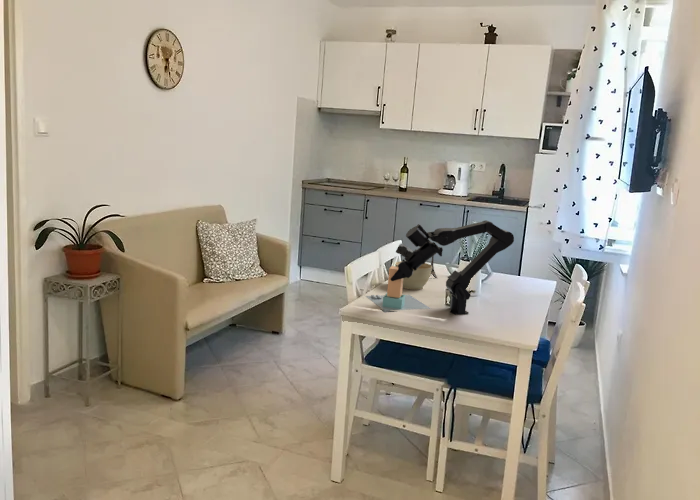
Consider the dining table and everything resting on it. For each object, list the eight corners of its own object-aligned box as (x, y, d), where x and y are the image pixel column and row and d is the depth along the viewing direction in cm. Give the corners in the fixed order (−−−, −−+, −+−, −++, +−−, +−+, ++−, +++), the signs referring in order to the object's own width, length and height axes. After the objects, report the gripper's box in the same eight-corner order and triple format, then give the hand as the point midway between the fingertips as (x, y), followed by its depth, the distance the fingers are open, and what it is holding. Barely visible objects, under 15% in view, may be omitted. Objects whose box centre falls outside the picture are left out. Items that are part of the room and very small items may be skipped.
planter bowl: (427, 285, 281) (430, 262, 279) (431, 294, 265) (434, 270, 263) (392, 282, 281) (394, 259, 279) (394, 291, 265) (396, 267, 263)
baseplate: (431, 310, 240) (432, 299, 240) (384, 312, 233) (385, 300, 233) (409, 296, 259) (410, 286, 258) (364, 297, 252) (365, 287, 251)
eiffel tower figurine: (426, 273, 307) (429, 247, 305) (445, 277, 302) (448, 250, 299) (413, 278, 295) (416, 251, 292) (433, 282, 289) (436, 254, 287)
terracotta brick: (401, 294, 242) (404, 267, 240) (399, 297, 237) (402, 270, 235) (389, 293, 243) (391, 266, 241) (386, 296, 238) (389, 268, 236)
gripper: (413, 234, 244) (384, 258, 248) (405, 241, 226) (374, 267, 231) (431, 256, 243) (401, 279, 248) (425, 265, 226) (392, 290, 230)
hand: (392, 278), depth 239 cm, fingers closed on terracotta brick, 5 cm apart
